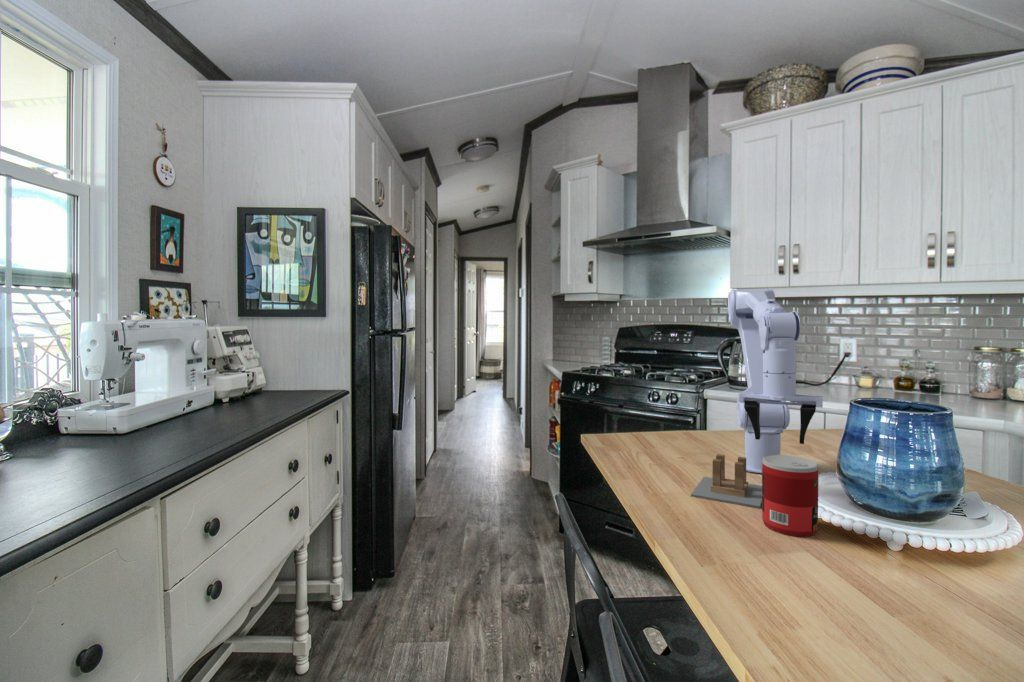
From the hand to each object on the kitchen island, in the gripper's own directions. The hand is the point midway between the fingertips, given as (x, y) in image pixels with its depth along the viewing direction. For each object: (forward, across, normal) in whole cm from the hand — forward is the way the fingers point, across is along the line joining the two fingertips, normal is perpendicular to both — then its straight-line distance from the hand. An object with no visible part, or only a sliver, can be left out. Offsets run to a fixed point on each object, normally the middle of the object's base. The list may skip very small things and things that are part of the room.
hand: (779, 440), depth 95 cm
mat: (+10, -8, -6) cm, 14 cm away
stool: (+10, -8, -6) cm, 14 cm away
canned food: (+11, +3, -18) cm, 21 cm away
